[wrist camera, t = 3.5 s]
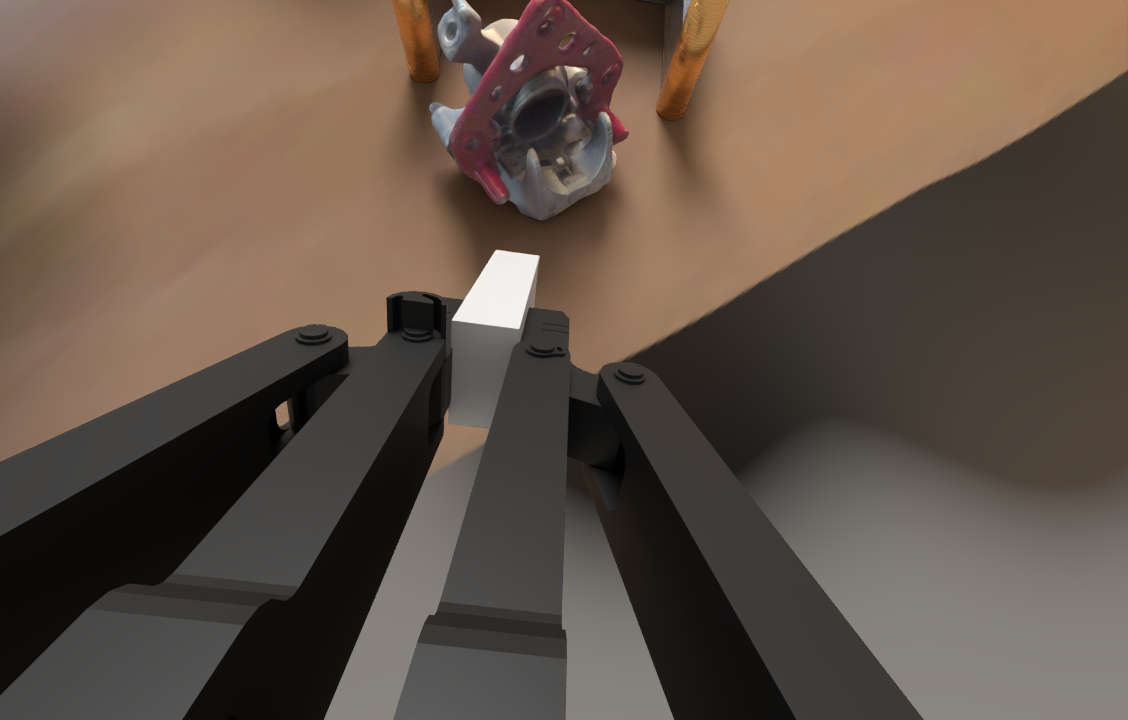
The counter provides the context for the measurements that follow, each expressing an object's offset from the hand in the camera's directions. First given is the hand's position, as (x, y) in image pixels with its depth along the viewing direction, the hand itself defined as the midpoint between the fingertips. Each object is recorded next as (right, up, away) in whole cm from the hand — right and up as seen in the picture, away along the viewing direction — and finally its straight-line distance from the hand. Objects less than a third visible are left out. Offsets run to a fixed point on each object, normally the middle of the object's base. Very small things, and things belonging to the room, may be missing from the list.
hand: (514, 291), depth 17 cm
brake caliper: (0, +10, +15) cm, 18 cm away
